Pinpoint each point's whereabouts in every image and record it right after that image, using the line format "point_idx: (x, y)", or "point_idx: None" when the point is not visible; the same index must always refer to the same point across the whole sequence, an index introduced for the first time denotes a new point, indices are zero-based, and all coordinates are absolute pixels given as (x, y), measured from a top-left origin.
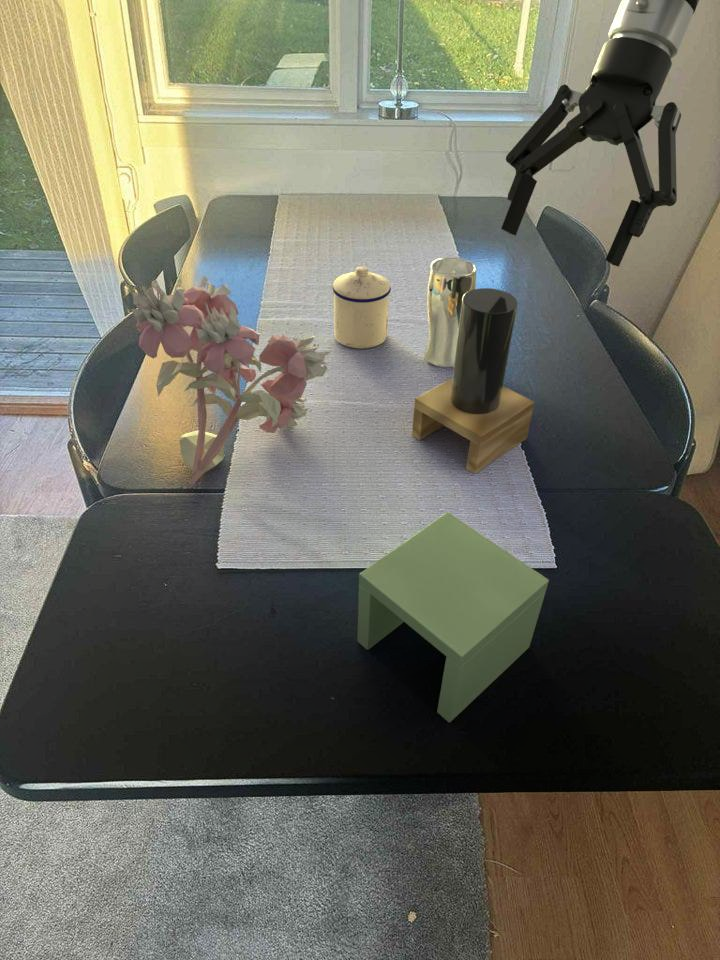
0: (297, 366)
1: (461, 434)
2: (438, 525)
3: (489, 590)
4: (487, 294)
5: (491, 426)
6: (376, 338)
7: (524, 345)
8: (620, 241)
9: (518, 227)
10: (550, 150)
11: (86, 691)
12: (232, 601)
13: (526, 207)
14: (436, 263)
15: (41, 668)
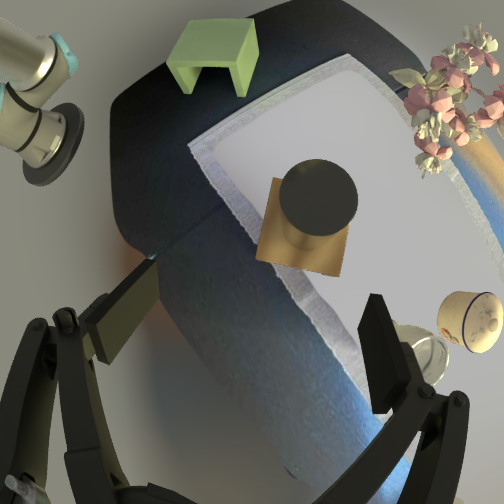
0: (414, 86)
1: None
2: (235, 52)
3: (190, 42)
4: (331, 210)
5: (272, 195)
6: (442, 310)
7: (324, 404)
8: (128, 275)
9: (360, 337)
10: (371, 445)
11: (330, 8)
12: (324, 44)
13: (365, 366)
14: (444, 362)
15: (351, 9)
